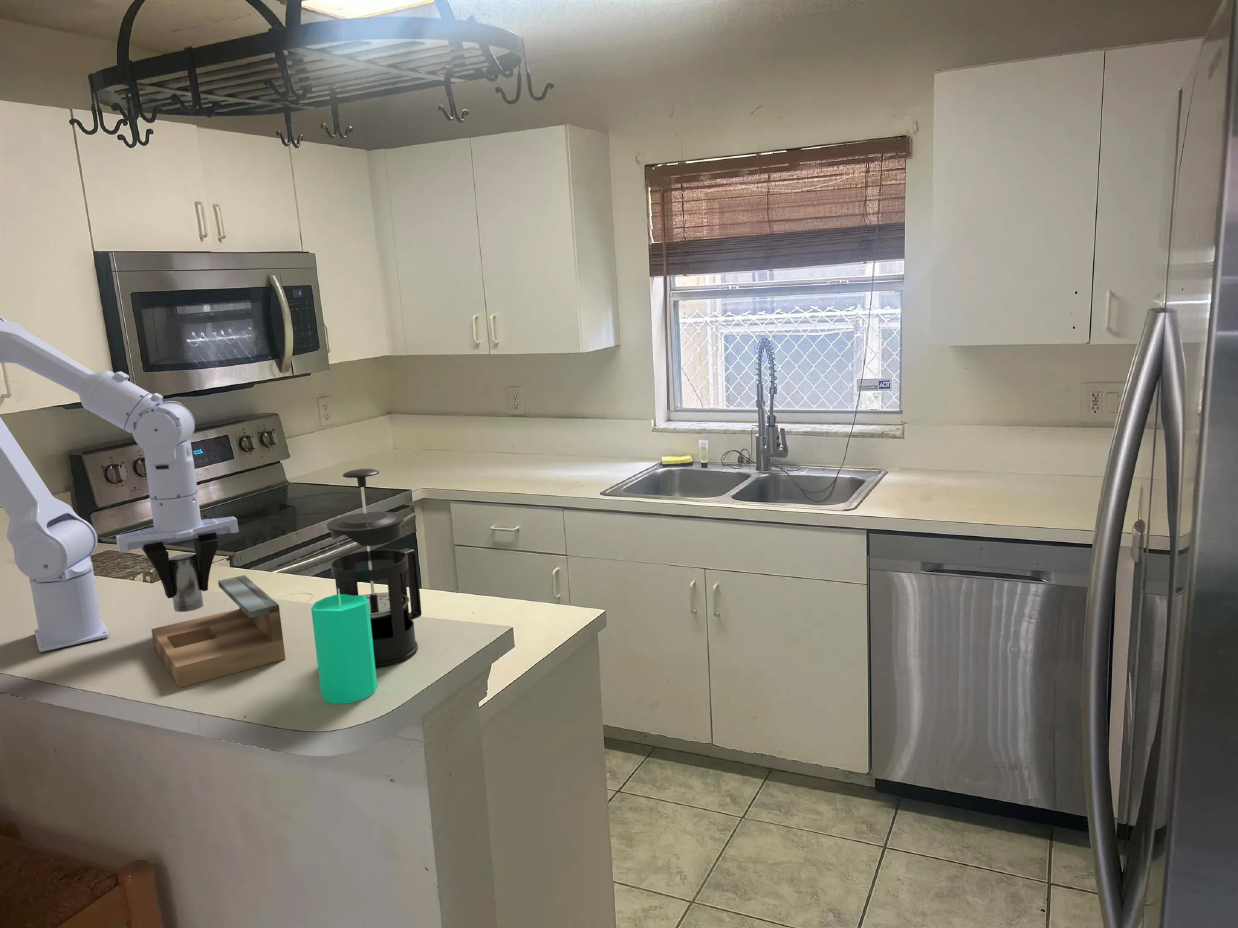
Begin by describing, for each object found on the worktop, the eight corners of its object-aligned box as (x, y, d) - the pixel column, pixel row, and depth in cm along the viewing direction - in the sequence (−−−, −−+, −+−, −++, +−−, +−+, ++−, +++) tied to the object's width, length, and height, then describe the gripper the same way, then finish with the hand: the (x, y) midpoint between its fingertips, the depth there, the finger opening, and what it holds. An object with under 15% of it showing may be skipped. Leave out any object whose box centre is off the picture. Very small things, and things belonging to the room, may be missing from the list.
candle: (361, 705, 96) (350, 598, 94) (310, 702, 97) (298, 597, 95) (386, 681, 102) (376, 580, 100) (338, 678, 103) (327, 579, 101)
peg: (171, 606, 122) (165, 557, 121) (200, 600, 124) (193, 552, 123) (177, 613, 119) (170, 563, 118) (206, 607, 121) (199, 557, 120)
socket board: (154, 647, 115) (146, 595, 114) (250, 624, 122) (244, 574, 121) (178, 687, 103) (170, 629, 101) (285, 659, 110) (278, 604, 108)
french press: (366, 677, 103) (346, 482, 99) (318, 660, 109) (297, 475, 105) (444, 643, 112) (428, 464, 108) (396, 629, 118) (379, 457, 114)
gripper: (116, 509, 111) (131, 612, 114) (239, 490, 120) (250, 587, 122) (108, 499, 117) (123, 599, 119) (226, 483, 125) (237, 576, 128)
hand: (186, 592), depth 121 cm, fingers closed on peg, 4 cm apart
